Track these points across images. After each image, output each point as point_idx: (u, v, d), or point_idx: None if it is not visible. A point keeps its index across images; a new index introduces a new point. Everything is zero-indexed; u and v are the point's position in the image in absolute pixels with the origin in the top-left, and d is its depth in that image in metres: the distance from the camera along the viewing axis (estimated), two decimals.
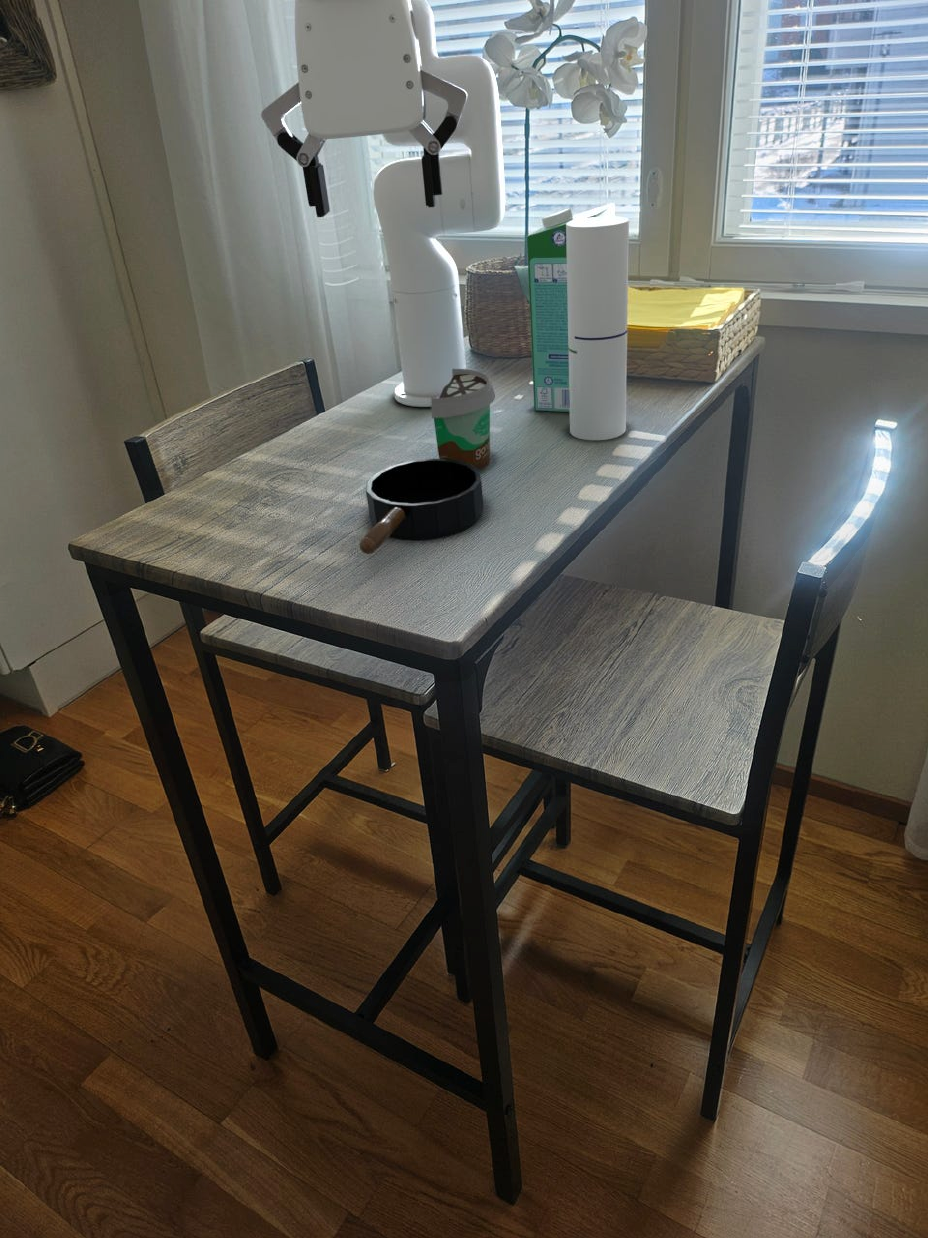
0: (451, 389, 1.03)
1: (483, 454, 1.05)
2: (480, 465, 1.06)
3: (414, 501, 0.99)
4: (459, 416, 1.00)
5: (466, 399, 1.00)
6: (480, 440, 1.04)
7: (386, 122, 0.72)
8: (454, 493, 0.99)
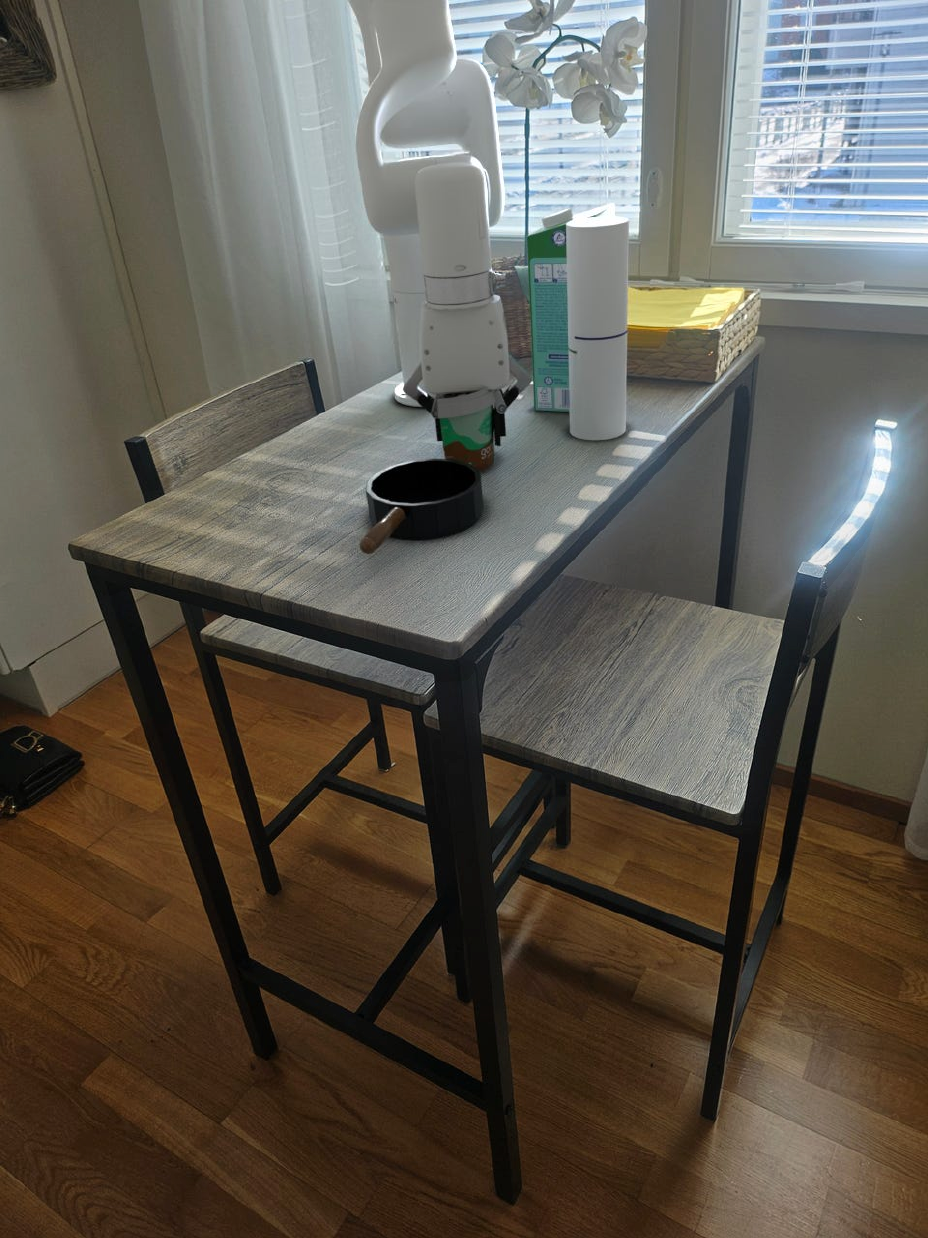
0: None
1: (488, 453, 1.05)
2: (485, 464, 1.06)
3: (414, 501, 0.99)
4: (465, 416, 1.00)
5: (472, 398, 1.00)
6: (485, 439, 1.04)
7: (483, 385, 1.01)
8: (454, 493, 0.99)
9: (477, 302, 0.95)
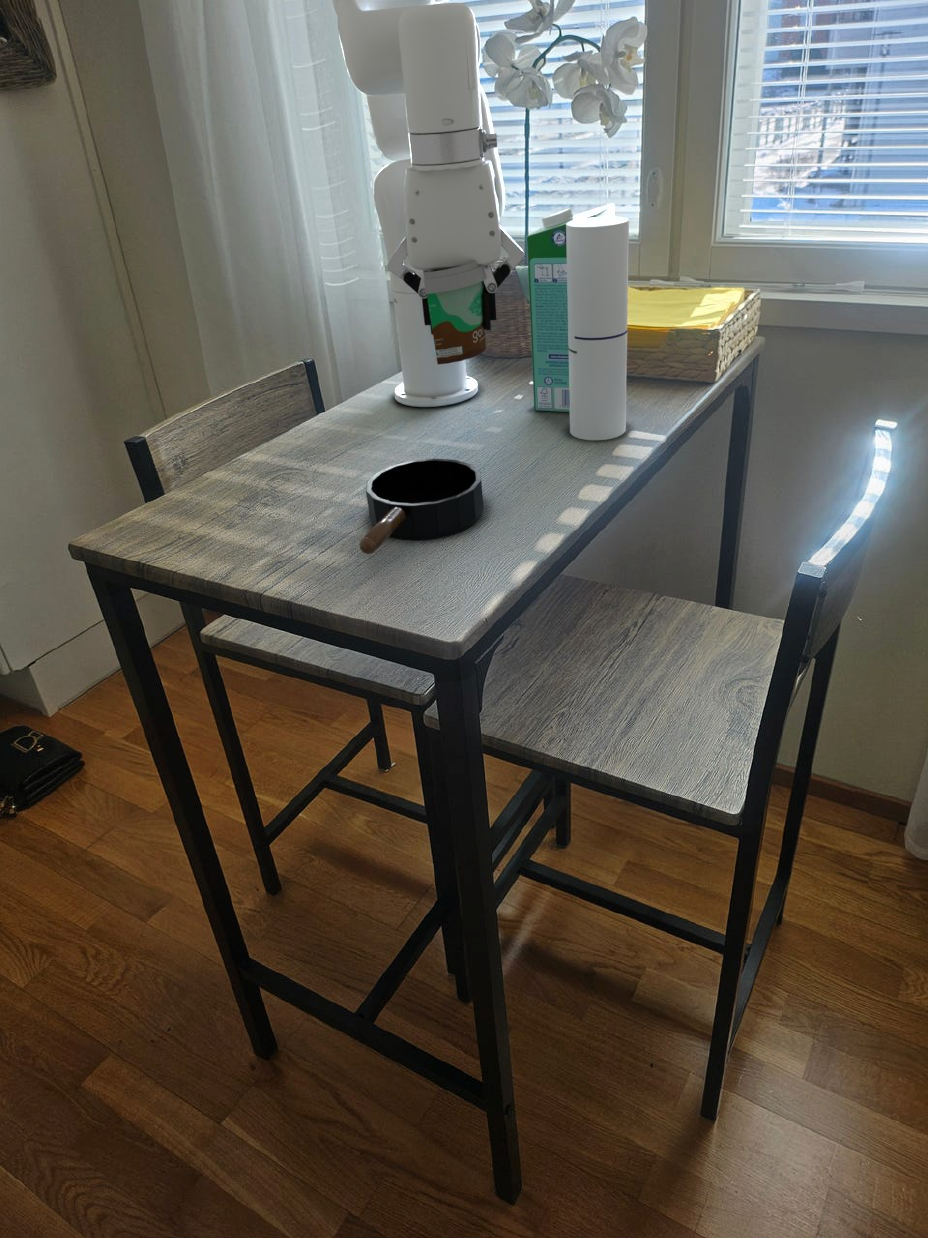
0: None
1: (480, 337, 0.99)
2: (477, 349, 0.99)
3: (414, 501, 0.99)
4: (454, 292, 0.94)
5: (461, 272, 0.93)
6: (476, 321, 0.97)
7: (472, 259, 0.94)
8: (454, 493, 0.99)
9: (466, 162, 0.88)
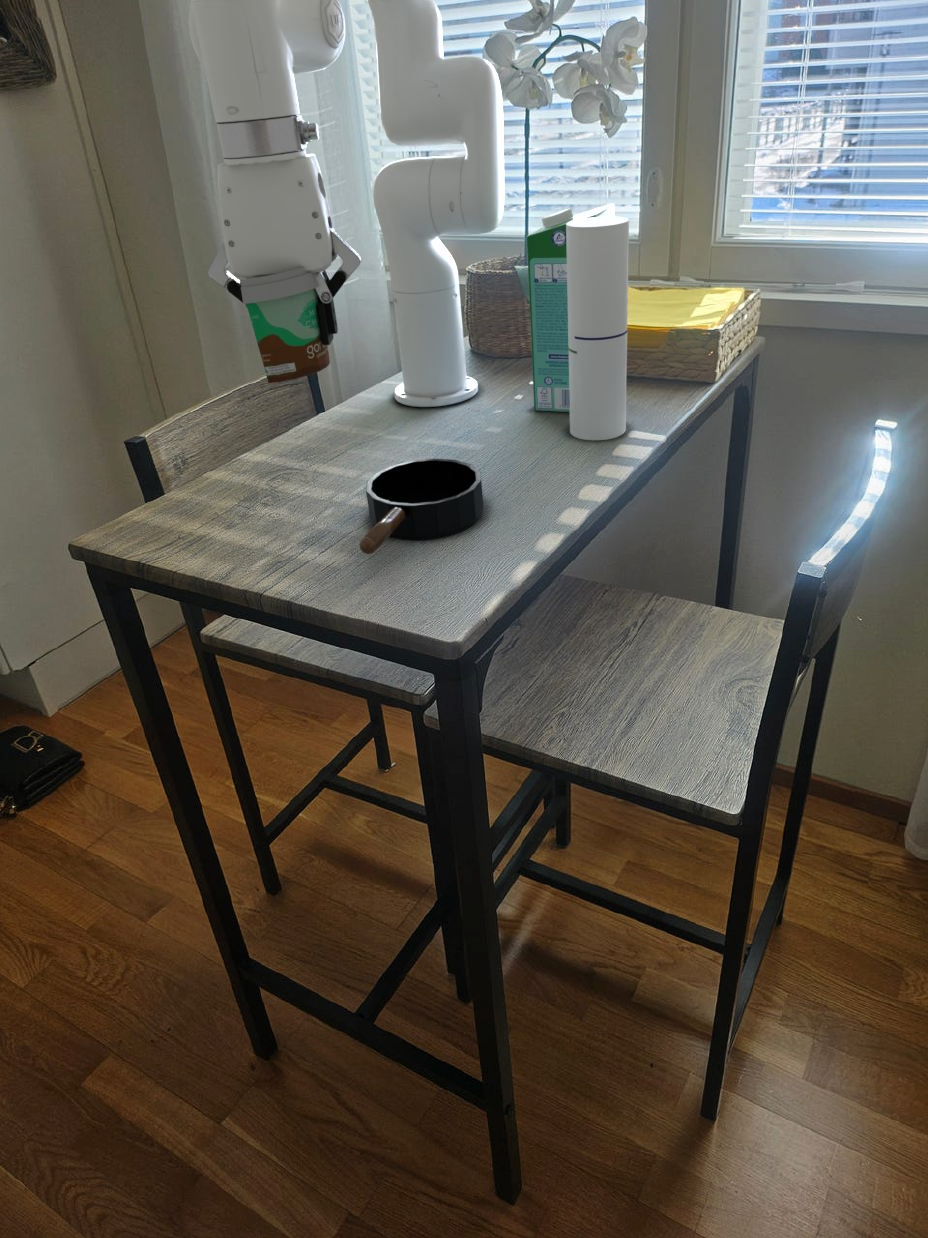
0: None
1: (317, 352, 0.88)
2: (315, 366, 0.88)
3: (414, 501, 0.99)
4: (278, 301, 0.83)
5: (284, 279, 0.82)
6: (311, 334, 0.86)
7: (299, 266, 0.83)
8: (454, 493, 0.99)
9: (279, 155, 0.77)
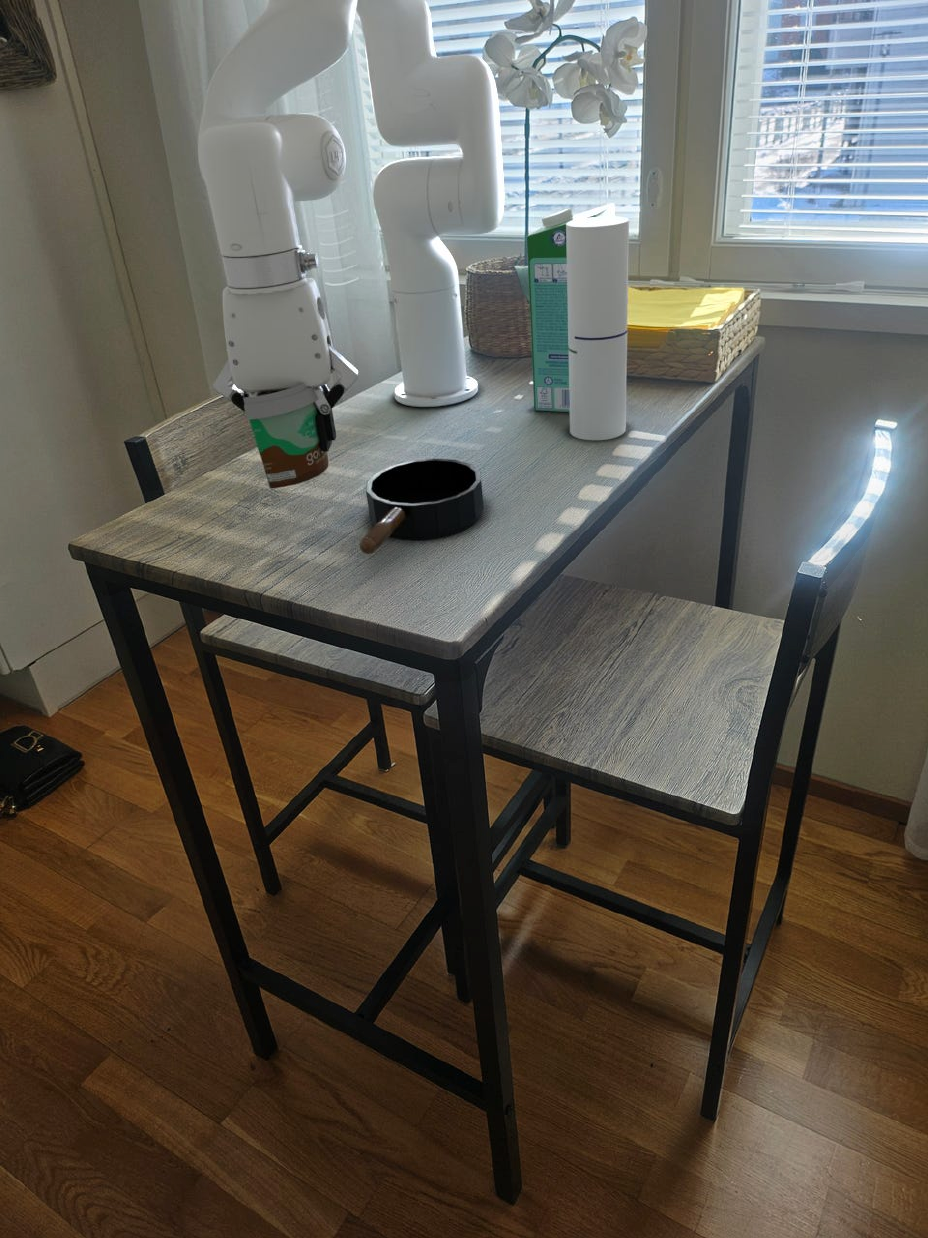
0: None
1: (316, 459, 0.93)
2: (314, 471, 0.93)
3: (414, 501, 0.99)
4: (279, 416, 0.88)
5: (285, 396, 0.87)
6: (310, 443, 0.91)
7: (300, 382, 0.88)
8: (454, 493, 0.99)
9: (280, 286, 0.82)
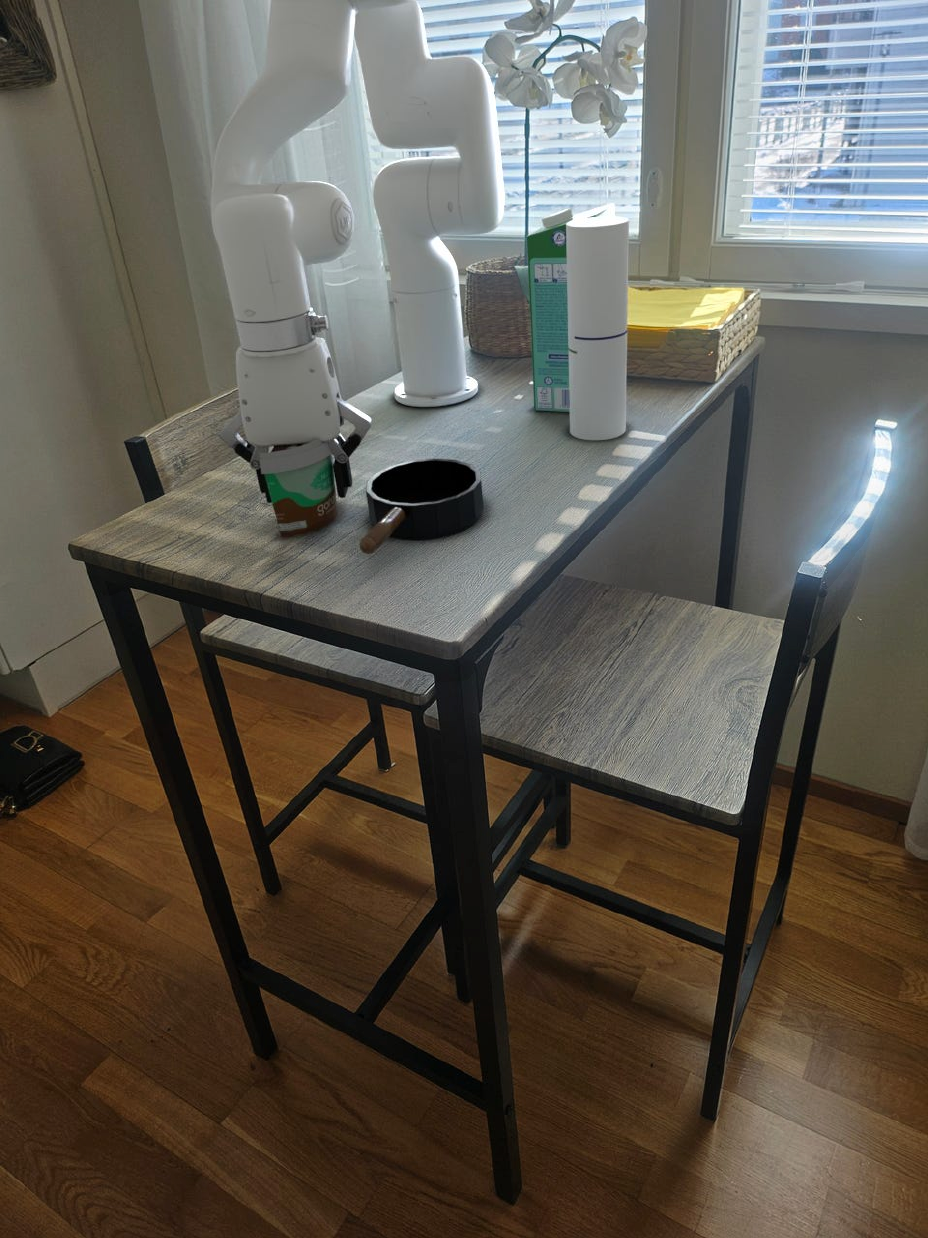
0: None
1: (327, 509, 0.96)
2: (324, 521, 0.96)
3: (414, 501, 0.99)
4: (293, 471, 0.91)
5: (299, 452, 0.90)
6: (321, 495, 0.94)
7: (310, 437, 0.91)
8: (454, 493, 0.99)
9: (292, 349, 0.85)
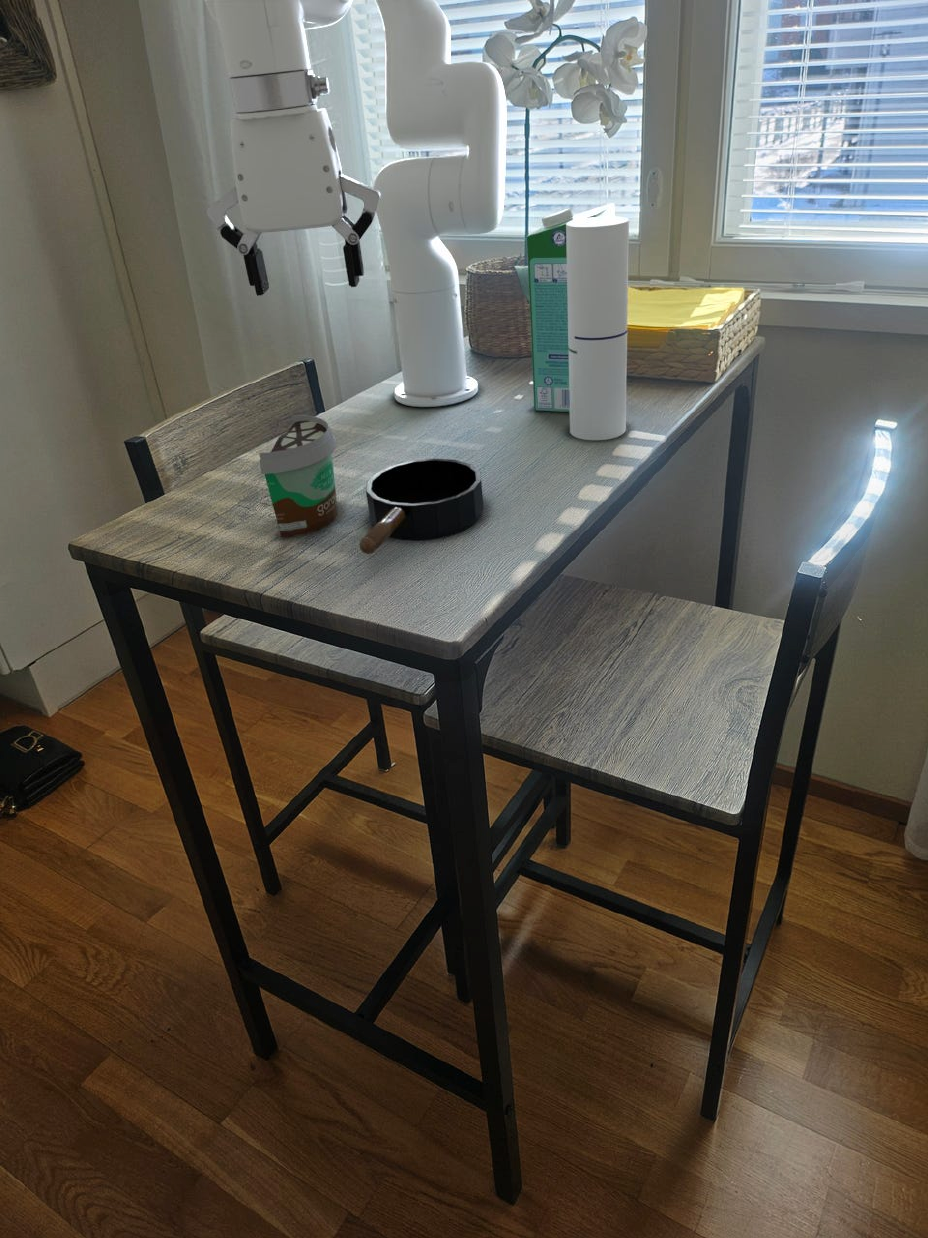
0: (286, 439, 0.93)
1: (327, 509, 0.96)
2: (324, 521, 0.96)
3: (414, 501, 0.99)
4: (293, 471, 0.91)
5: (299, 452, 0.90)
6: (321, 495, 0.94)
7: (311, 219, 0.85)
8: (454, 493, 0.99)
9: (291, 109, 0.79)
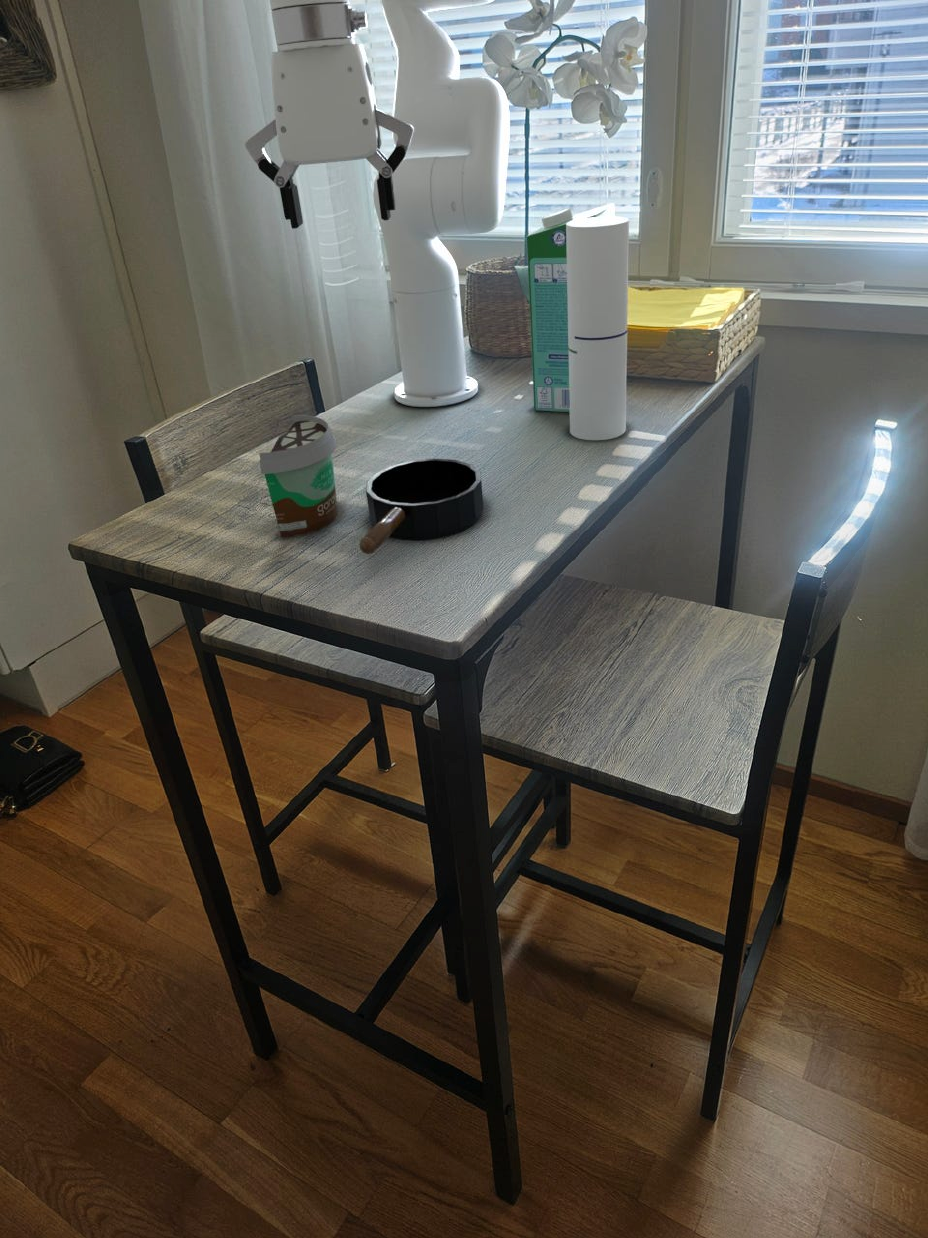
0: (286, 439, 0.93)
1: (327, 509, 0.96)
2: (324, 521, 0.96)
3: (414, 501, 0.99)
4: (293, 471, 0.91)
5: (299, 452, 0.90)
6: (321, 495, 0.94)
7: (347, 151, 0.89)
8: (454, 493, 0.99)
9: (331, 39, 0.83)
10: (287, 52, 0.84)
